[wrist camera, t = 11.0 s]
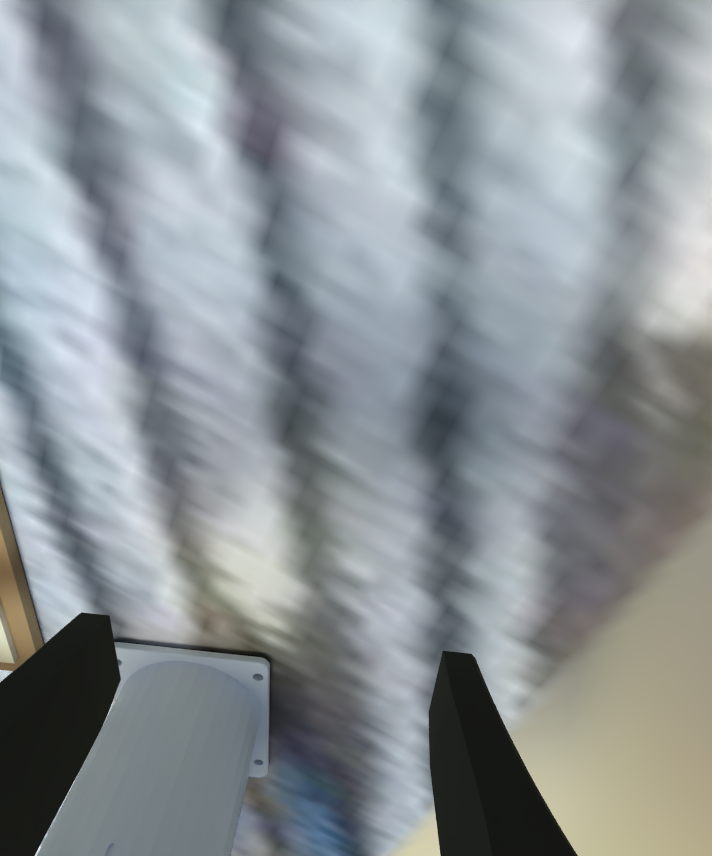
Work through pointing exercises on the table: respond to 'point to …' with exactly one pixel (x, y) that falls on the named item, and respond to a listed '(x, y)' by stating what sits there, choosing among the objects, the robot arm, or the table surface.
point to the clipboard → (14, 602)
